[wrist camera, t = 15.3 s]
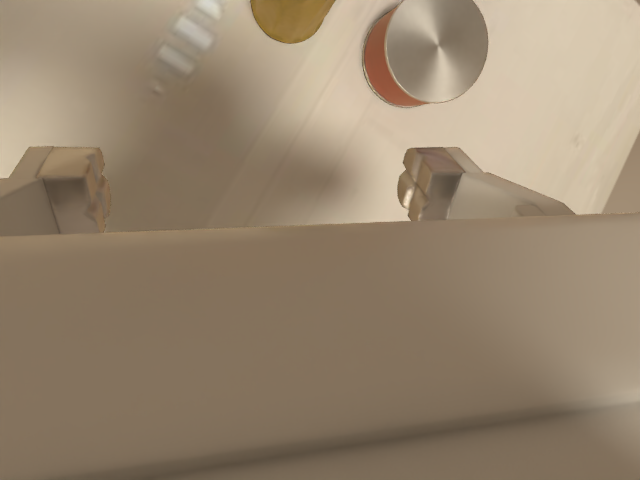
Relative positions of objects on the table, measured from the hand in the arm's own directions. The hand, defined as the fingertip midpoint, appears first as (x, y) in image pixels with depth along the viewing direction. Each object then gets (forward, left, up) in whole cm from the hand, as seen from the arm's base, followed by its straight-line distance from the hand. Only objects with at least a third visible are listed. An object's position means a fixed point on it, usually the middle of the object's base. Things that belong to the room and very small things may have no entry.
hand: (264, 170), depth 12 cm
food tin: (+11, +12, -27) cm, 32 cm away
